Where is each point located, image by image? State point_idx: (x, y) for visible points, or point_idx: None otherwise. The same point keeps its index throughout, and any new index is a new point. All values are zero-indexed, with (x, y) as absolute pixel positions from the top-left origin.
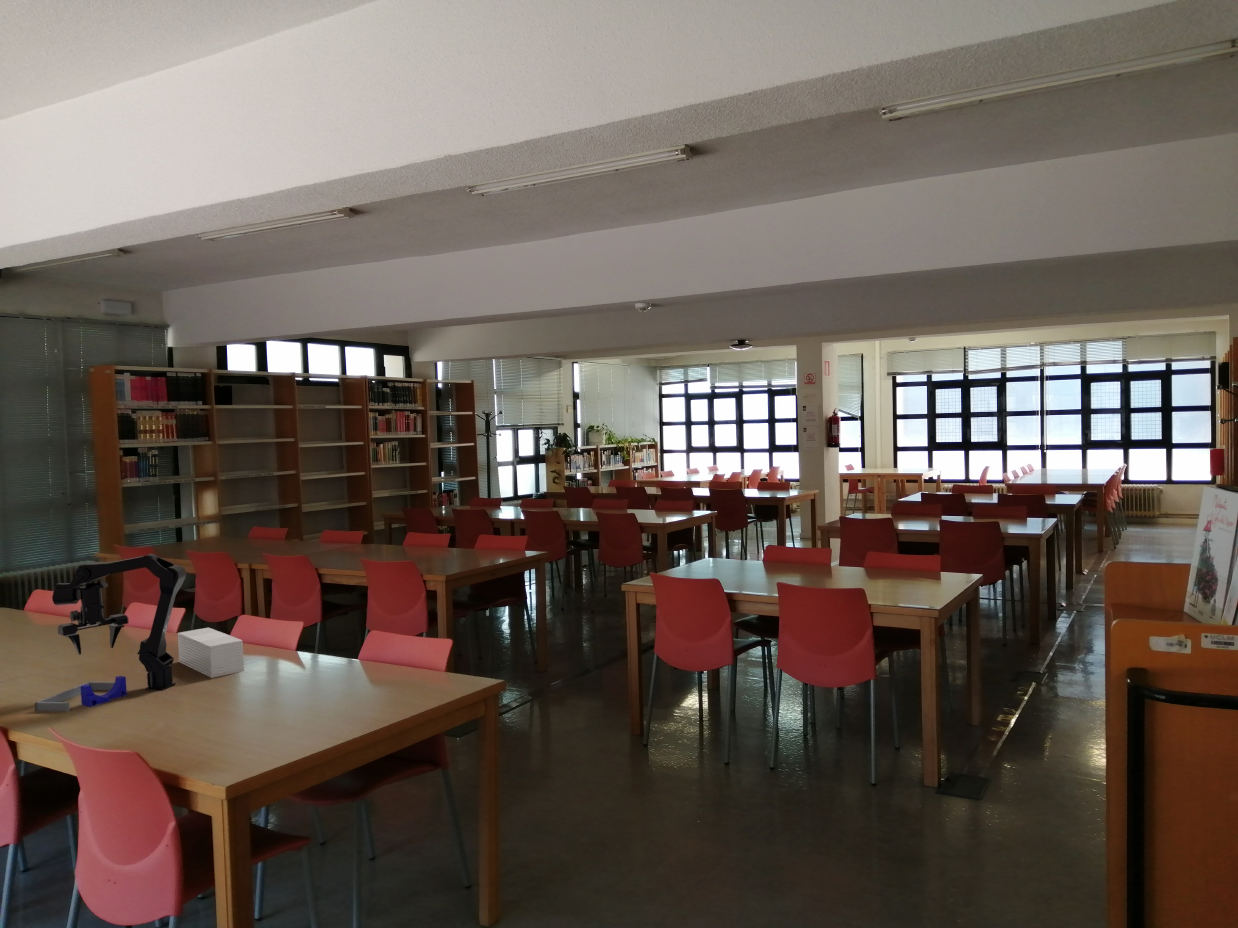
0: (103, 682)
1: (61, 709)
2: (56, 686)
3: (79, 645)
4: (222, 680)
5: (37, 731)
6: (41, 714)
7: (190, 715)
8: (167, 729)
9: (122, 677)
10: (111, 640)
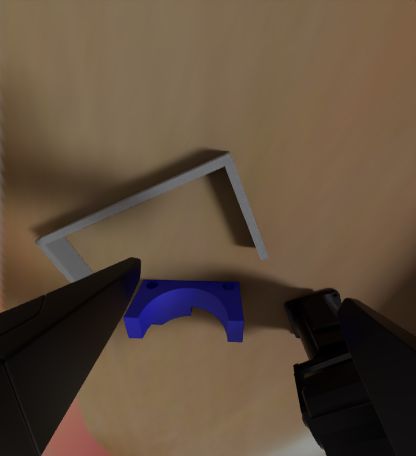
0: (245, 215)
1: None
2: None
3: (85, 363)
4: None
5: None
6: None
7: (210, 440)
8: (165, 448)
9: (233, 340)
10: (378, 372)
